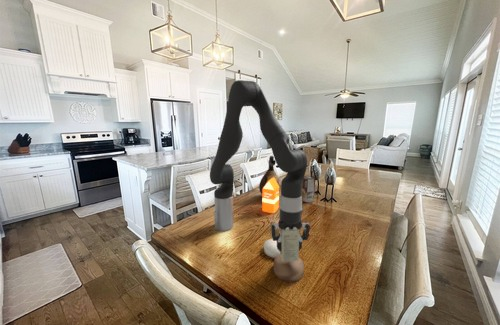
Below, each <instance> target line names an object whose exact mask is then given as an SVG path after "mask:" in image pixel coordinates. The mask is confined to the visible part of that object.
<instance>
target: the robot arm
mask: <svg viewBox="0 0 500 325" xmlns="http://www.w3.org/2000/svg"><path fill="white" fill-rule="evenodd" d="M227 99H228V100H227V106H226V113H225V118H224V123H223V128H222V129H221V133H220V134H221V135H220V138H219V140H218V141H219V142H218V145H217V150H216V152H215V157H214V160H213V162H212V164H211V167H210V170H209V179H210V182H211V183H212V185H219V187H216V189H215V190H214V192H213V194H214V195H213V196H214V197H213V199H214V214H213V216H214V230H217V231H220V232H221V231H222V232H227V231H229V230H230V231H231V229H233V227H234V207H233V206H234V204H233V198H234V197H233V193H234V192H233V191H234V181H235V180H234V178H235V176H234V175H235V174H234V168H233V167H232V165H231V164H229V163H228V162H229V160H230V159H231V158H233V157H234V155H236V153H237V152H238V151H239V149H240V147H241V143H242V141H243V138H244V135H243V128H242V126H241V122H240V119H241V118H240V117H241V113H242V110H243V107H252V108H253V109H254V110H255V111H256V113H257V115H258V117H259V126H260V127H259V128H260V132H261V134H262V136H263V138H264V139H265V140H266V142H267V143H268V145H269V147H270V149H271V152H272V156H274V160H275V161H276V163H275V164H276V165H277V167H278V168H279V169H280V171H282V172H284V173H286V175H285V177H284V178H282V179H281V181H280V183H281V190H280V197H279V221H278V222H275V223H274V222H273V221H272V222H270V231H271V239H273V241H277V249H278V250H279V251H281V237H282V234H281V231H280V229H284V230H289V229H293V230H297V229H299V230H300V229H301V228H302V229H303V231H302V235H301V234H300V233H299V252H300V251H301V250H302V249H303V241H308V240H309V235H310V234H309V233H310V229H311V228H310V227H311V225H310V223H309V222H308V221H305V222H302V216H301V214H302V215H303V212H302V207H303V200H302V182H303V179H304V176H306V172H307V168H308V158H307V154H306V153H305V152H304V151H303V149H290V147H289V146H288V145H289V143H290V136H289V135H288V133H287V132H286V131H285V130H284V128H283V126H282V125H281V123H279V121H278V119H277V118H276V116H275V114H274V112H273V110H272V108H271V107H270V105H269V103H268V100H267V98H266V96H265V94H264V92H263V90H262V88H261V86H260V85H259V84H258V83H257V82H255V81H254V80H240V79H239V80H235V81H233V83H232V84H231V86H230V89H229V93H228V98H227ZM278 228H279V231H278V233H276V230H278ZM276 234H277V235H276Z"/></svg>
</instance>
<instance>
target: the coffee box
mask: <svg viewBox="0 0 500 325" xmlns="http://www.w3.org/2000/svg"><path fill="white" fill-rule="evenodd" d="M315 187H316V178H314V177H311V176H309V175H305V176H304V179H303V182H302V202H303V201H304V203H305V202H306V203H311V202H315Z"/></svg>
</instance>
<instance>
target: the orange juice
mask: <svg viewBox="0 0 500 325" xmlns="http://www.w3.org/2000/svg"><path fill="white" fill-rule="evenodd" d="M261 195H262V196H261V197H262V198H261V199H262V200H261V201H262V202H261V203H262V206H261V207H262V209H261V211H262V212H265V213H269V214H275V213H277V211H278V209H280V193H279V185H278V183H277V182H276V180H275V178H274V177H273V178H272V179H270V180H269V181H268V182H267V184H266V185H265V186H264V188H263V192H262V194H261Z"/></svg>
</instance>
